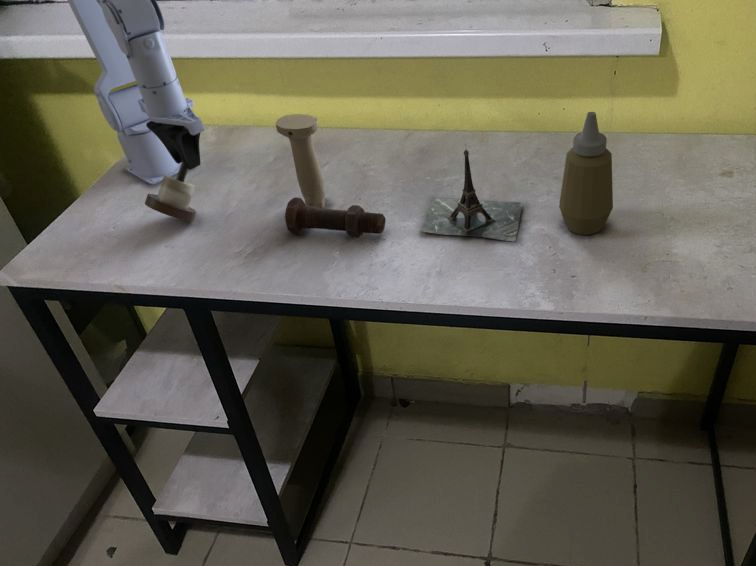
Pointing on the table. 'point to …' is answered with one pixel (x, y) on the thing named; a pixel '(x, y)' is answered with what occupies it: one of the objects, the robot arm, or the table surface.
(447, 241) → the table surface
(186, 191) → the joystick
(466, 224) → the eiffel tower figurine
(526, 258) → the table surface
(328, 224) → the bolt
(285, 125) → the handle
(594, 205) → the squeeze bottle
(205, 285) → the table surface
